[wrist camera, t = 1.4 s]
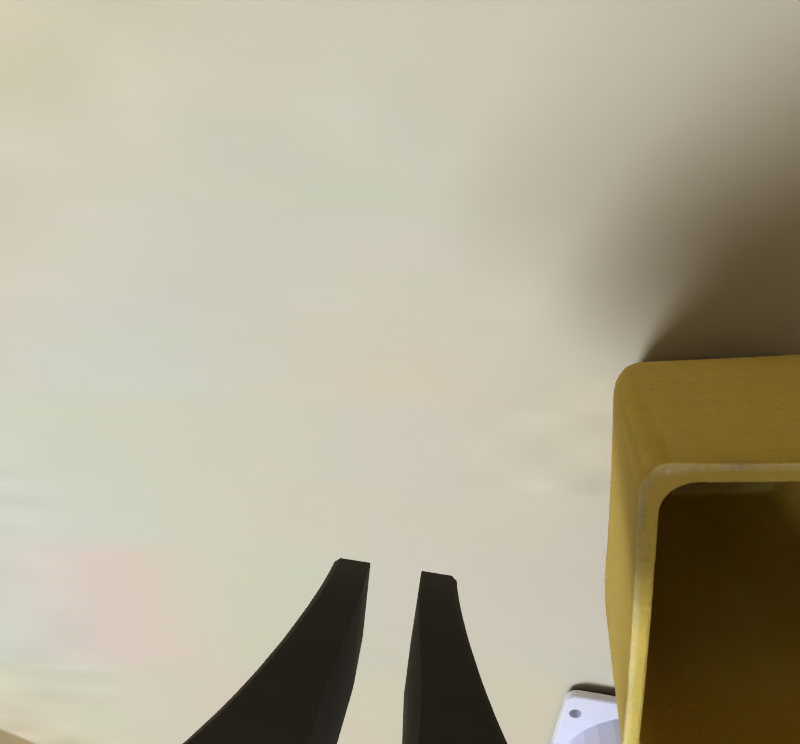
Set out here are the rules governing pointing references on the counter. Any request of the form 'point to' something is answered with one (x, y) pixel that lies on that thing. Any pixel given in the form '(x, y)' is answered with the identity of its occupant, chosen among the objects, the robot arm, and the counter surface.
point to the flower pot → (706, 551)
